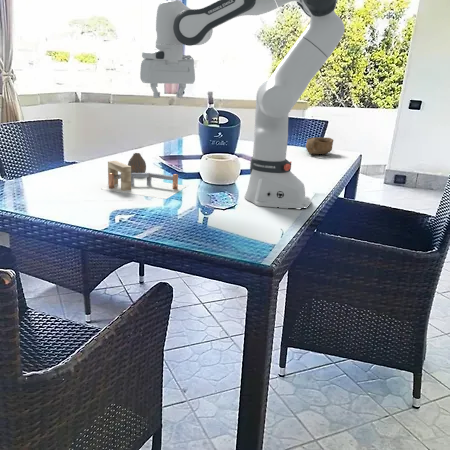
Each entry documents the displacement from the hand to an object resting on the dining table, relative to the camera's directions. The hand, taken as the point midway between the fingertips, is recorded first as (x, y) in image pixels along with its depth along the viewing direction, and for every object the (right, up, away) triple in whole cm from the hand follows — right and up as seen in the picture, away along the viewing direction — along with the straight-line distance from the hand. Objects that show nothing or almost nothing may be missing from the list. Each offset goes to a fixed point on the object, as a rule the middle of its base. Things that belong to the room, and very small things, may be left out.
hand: (168, 97), depth 166 cm
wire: (-9, -31, +3) cm, 32 cm away
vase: (-15, -25, +22) cm, 36 cm away
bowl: (+67, -7, +86) cm, 109 cm away
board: (-8, -31, +5) cm, 32 cm away
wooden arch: (-17, -30, +3) cm, 35 cm away
